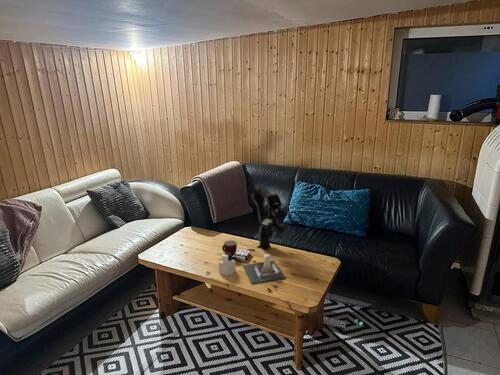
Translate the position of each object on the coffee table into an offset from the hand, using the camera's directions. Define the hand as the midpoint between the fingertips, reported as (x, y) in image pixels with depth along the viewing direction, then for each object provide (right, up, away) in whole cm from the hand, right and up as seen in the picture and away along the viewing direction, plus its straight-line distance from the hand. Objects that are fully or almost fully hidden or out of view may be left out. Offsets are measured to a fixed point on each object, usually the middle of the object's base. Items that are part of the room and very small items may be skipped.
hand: (272, 236), depth 208 cm
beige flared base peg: (-4, -17, -17) cm, 25 cm away
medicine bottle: (-28, -19, -16) cm, 37 cm away
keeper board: (-7, -18, -16) cm, 26 cm away
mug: (-28, -13, +3) cm, 31 cm away
